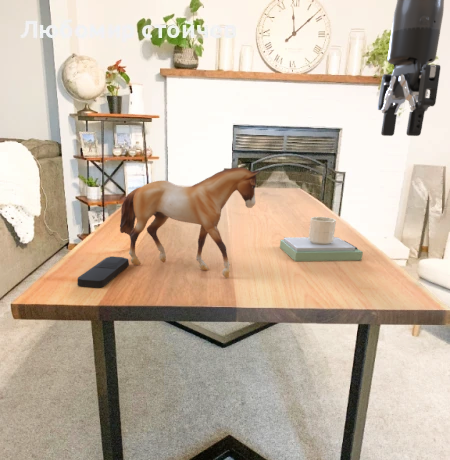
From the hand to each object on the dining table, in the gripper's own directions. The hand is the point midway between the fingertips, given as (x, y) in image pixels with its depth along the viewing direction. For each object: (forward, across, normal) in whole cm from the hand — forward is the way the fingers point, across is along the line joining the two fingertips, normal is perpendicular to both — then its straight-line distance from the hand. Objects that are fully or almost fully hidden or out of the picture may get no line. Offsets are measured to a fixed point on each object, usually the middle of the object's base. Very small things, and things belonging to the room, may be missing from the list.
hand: (399, 135), depth 78 cm
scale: (+27, +21, +4) cm, 34 cm away
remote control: (+27, +8, +53) cm, 60 cm away
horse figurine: (+27, +14, +37) cm, 48 cm away
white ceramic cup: (+24, +21, +4) cm, 32 cm away
